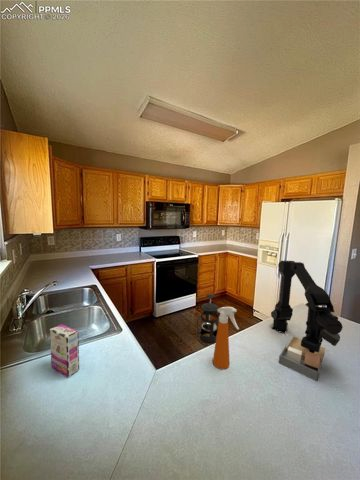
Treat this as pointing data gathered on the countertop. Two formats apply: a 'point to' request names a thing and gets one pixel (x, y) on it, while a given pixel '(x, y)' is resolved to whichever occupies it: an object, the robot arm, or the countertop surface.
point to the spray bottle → (223, 338)
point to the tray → (300, 366)
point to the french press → (208, 322)
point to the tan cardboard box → (312, 359)
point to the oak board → (303, 348)
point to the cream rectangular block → (294, 355)
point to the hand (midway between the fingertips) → (311, 354)
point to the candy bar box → (64, 350)
